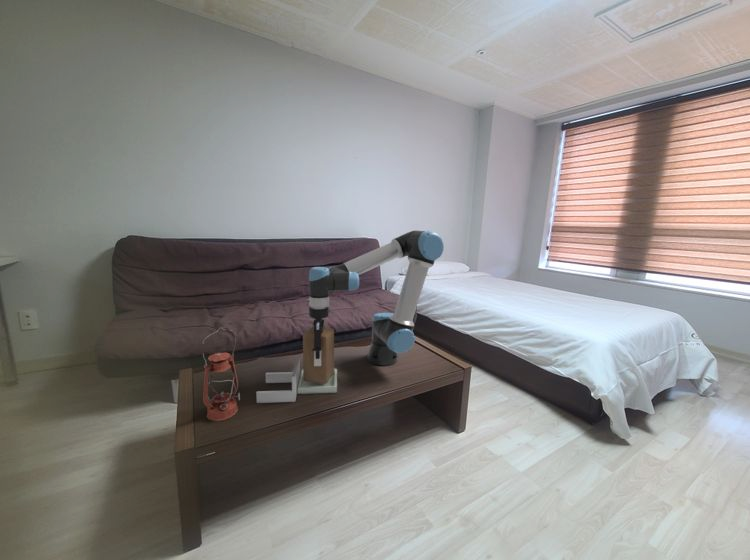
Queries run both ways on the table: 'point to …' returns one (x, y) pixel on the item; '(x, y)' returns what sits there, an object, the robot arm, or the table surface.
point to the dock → (281, 378)
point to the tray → (317, 385)
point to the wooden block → (327, 356)
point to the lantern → (222, 402)
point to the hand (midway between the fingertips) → (318, 358)
